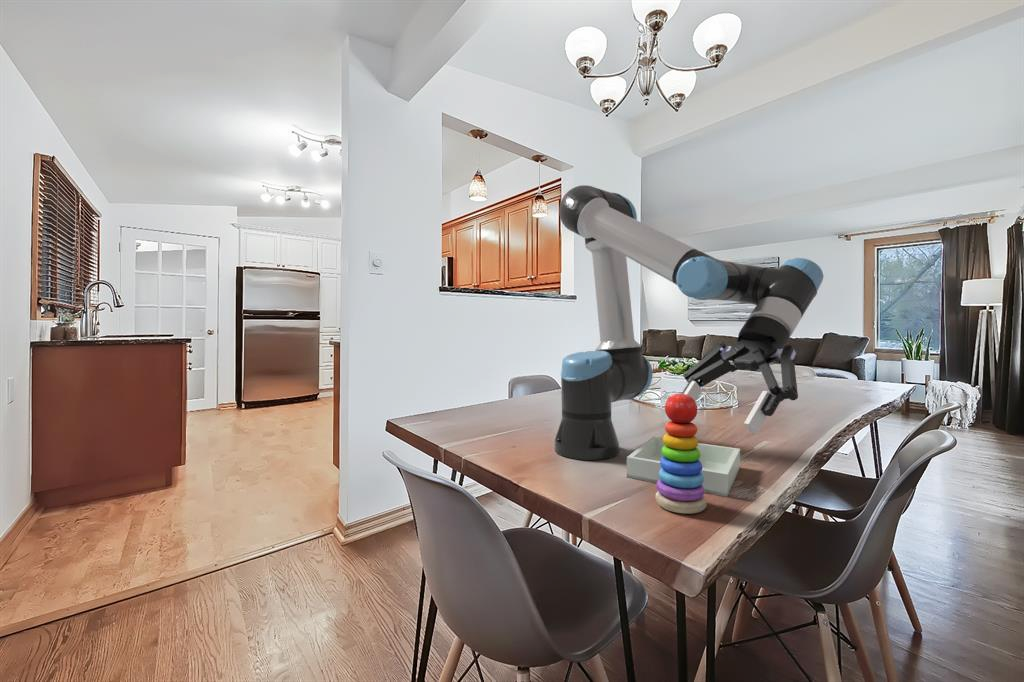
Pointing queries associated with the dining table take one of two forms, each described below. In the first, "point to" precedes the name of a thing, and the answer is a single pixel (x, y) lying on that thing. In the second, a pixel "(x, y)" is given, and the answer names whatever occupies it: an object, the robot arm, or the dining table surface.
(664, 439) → the stacking toy
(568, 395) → the robot arm
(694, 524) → the dining table surface
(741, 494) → the dining table surface
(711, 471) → the tray
